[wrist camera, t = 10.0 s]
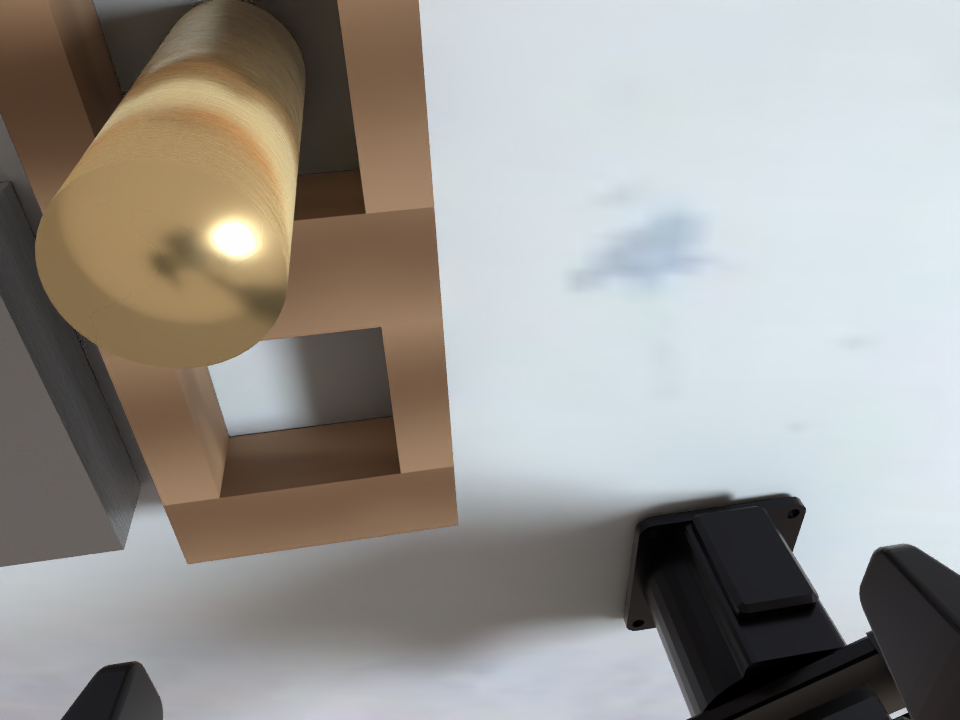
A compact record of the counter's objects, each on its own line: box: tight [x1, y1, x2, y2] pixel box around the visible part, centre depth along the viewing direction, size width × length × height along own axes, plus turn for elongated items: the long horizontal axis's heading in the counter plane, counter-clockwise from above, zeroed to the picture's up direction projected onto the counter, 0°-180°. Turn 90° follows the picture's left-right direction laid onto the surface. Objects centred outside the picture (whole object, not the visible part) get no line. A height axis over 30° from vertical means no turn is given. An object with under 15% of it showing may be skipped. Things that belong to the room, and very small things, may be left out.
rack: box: [0, 0, 458, 564], centre depth 18 cm, size 18×8×2 cm, turn 2°
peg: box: [35, 0, 306, 369], centre depth 13 cm, size 3×3×9 cm
